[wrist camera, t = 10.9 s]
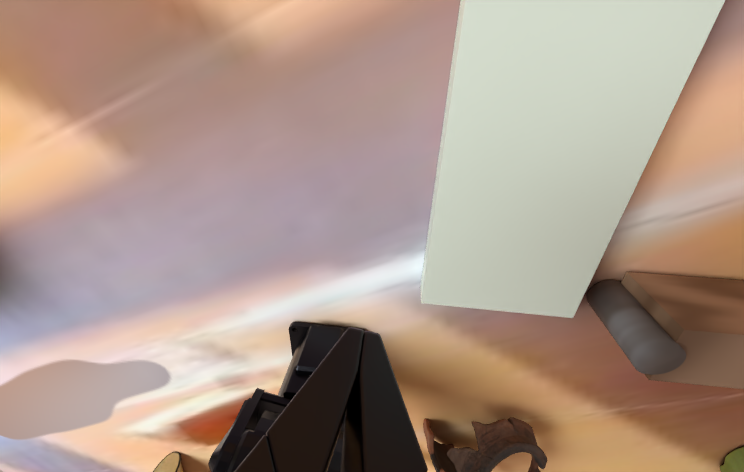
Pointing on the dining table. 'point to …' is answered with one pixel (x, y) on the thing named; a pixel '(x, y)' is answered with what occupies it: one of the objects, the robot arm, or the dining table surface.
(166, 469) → the clutch purse
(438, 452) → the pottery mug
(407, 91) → the dining table surface
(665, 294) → the folding leg
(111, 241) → the dining table surface
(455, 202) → the pale green flat block
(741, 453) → the plant pot
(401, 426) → the robot arm
